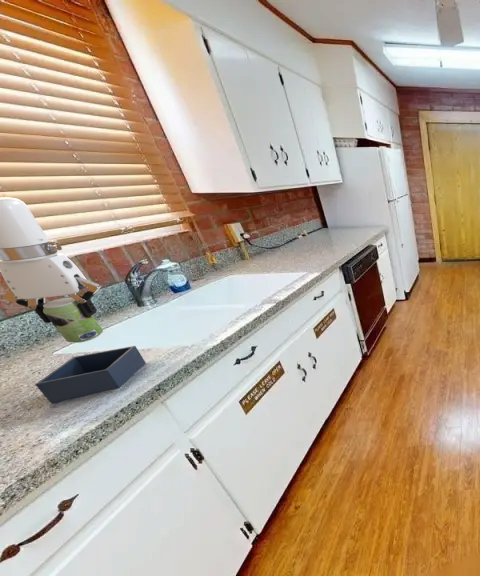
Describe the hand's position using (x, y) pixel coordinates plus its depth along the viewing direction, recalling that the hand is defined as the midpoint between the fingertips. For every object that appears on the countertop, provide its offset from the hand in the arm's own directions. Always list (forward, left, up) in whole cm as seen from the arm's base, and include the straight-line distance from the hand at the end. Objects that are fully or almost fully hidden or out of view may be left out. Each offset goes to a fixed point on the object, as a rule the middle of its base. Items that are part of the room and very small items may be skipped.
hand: (71, 317), depth 77 cm
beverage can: (0, 0, -7) cm, 7 cm away
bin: (0, -3, -19) cm, 20 cm away
